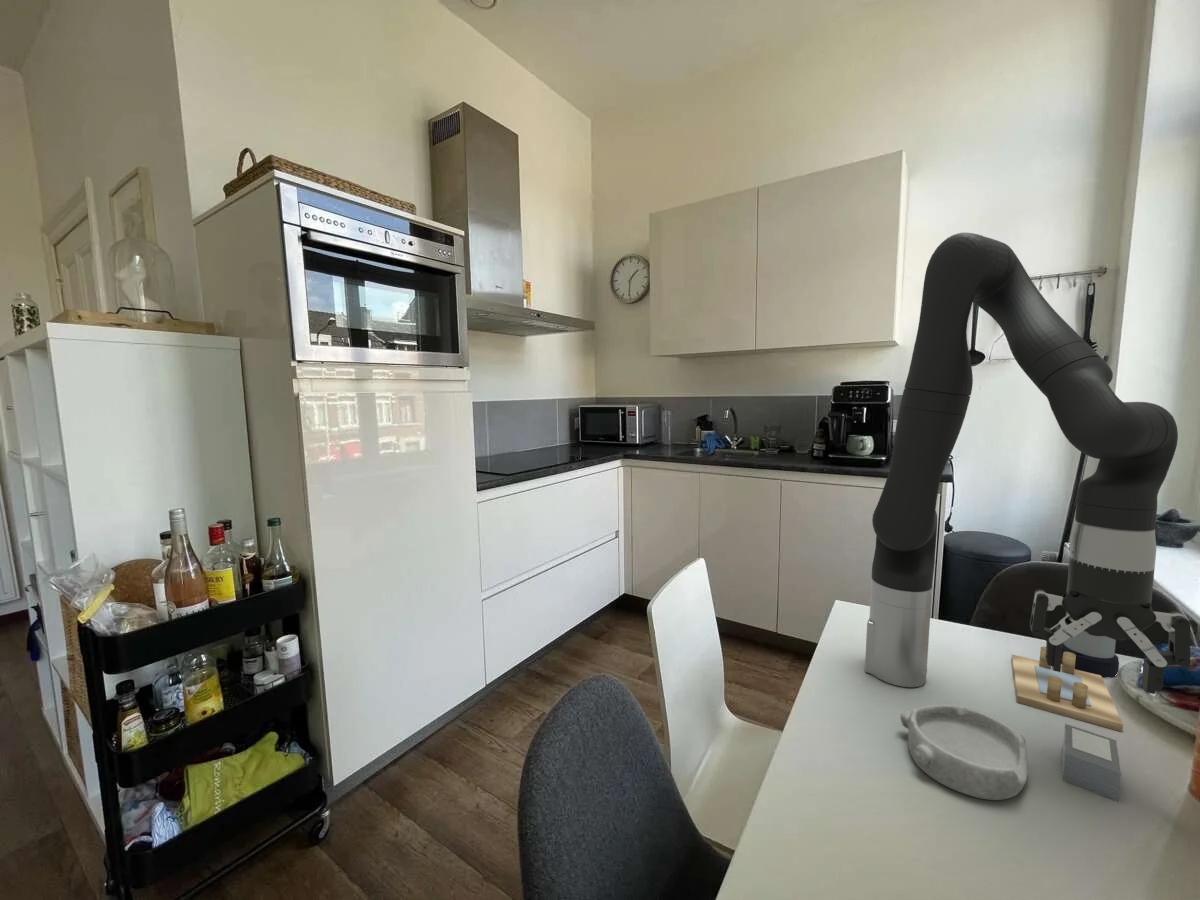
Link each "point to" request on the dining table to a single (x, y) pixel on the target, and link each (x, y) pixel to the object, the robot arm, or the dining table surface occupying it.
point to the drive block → (1091, 762)
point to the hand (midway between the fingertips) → (1100, 679)
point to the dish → (967, 750)
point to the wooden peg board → (1064, 690)
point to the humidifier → (1093, 653)
